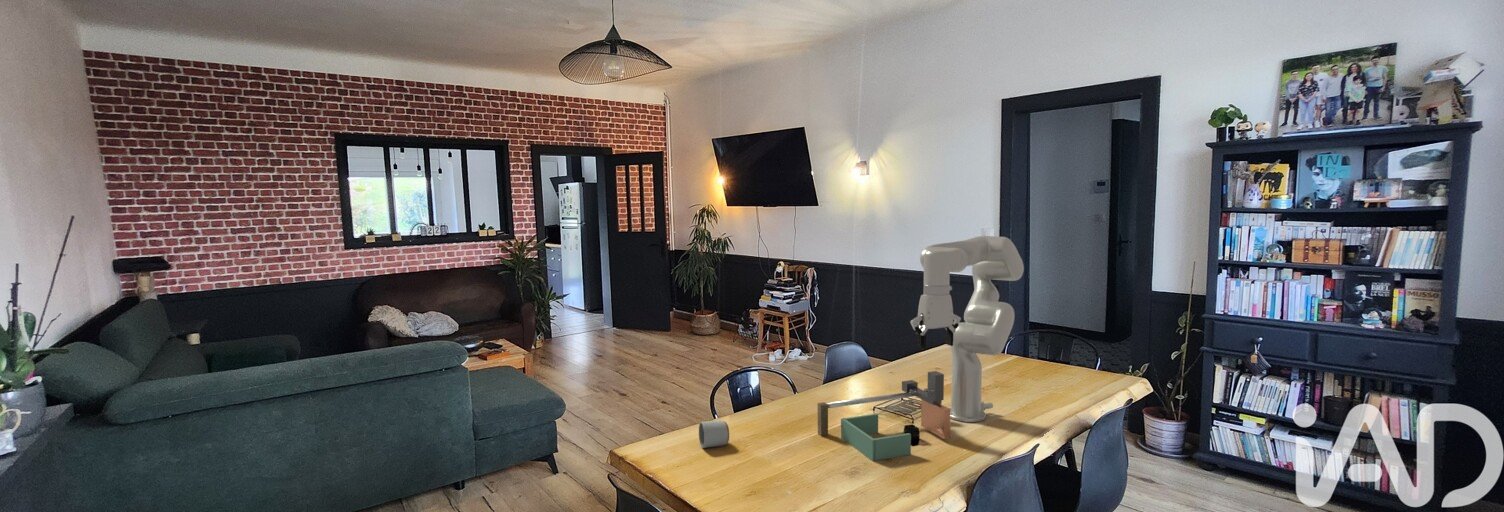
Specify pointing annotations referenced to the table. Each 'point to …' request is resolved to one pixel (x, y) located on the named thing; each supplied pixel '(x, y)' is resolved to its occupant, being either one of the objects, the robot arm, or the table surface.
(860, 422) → the box
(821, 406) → the rod rail
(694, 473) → the table surface
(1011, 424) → the table surface
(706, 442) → the ceramic mug
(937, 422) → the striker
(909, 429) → the black block
